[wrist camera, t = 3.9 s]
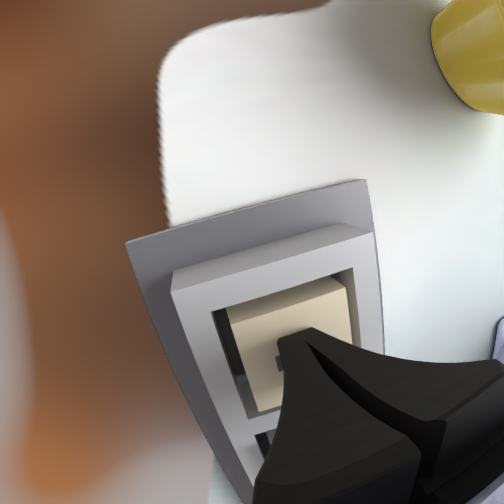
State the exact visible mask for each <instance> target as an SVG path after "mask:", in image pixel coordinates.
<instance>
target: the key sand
mask: <svg viewBox="0 0 504 504" xmlns="http://www.w3.org/2000/svg"><path fill="white" fill-rule="evenodd" d="M225 308H226V311H227V315H228V318H229V321H230V324H231V328H232V331H233V334H234V337H235V340H236V344H237V347H238V350H239V353H240V356H241V359H242V362H243V366H244V369H245V372H246V375H247V378H248V381H249V384H250V387H251V390H252V393H253V396H254V399H255V402H256V405H257V408H258V411H259V412H261V411H265V410H268V409H271V408H274V407H277V406H280V405H282V399H283V387H284V370H283V366H282V362H281V358H280V354H279V350H278V346H277V341H278V339H279V338H282V337H285V336H288V335H291V334H294V333H296V332H299V331H302V330H305V329H308V328H311V327H313V328H315V329H318V330H320V331H322V332H324V333H326V334H328V335H331V336H333V337H335V338H337V339H340V340H342V341H344V342H347V343H349V344H352V336H351V327H350V318H349V310H348V302H347V294H346V287H344V286H343V285H342V284H340V283H339V282H337V281H336V280H335V279H333V278H332V277H330V276H329V275H328V276H325V277H322V278H319V279H316V280H313V281H310V282H306V283H303V284H300V285H297V286H294V287H291V288H288V289H285V290H281V291H278V292H275V293H272V294H269V295H265V296H262V297H259V298H255V299H252V300H249V301H246V302H242V303H239V304H235V305H232V306H229V307H225Z"/></svg>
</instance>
